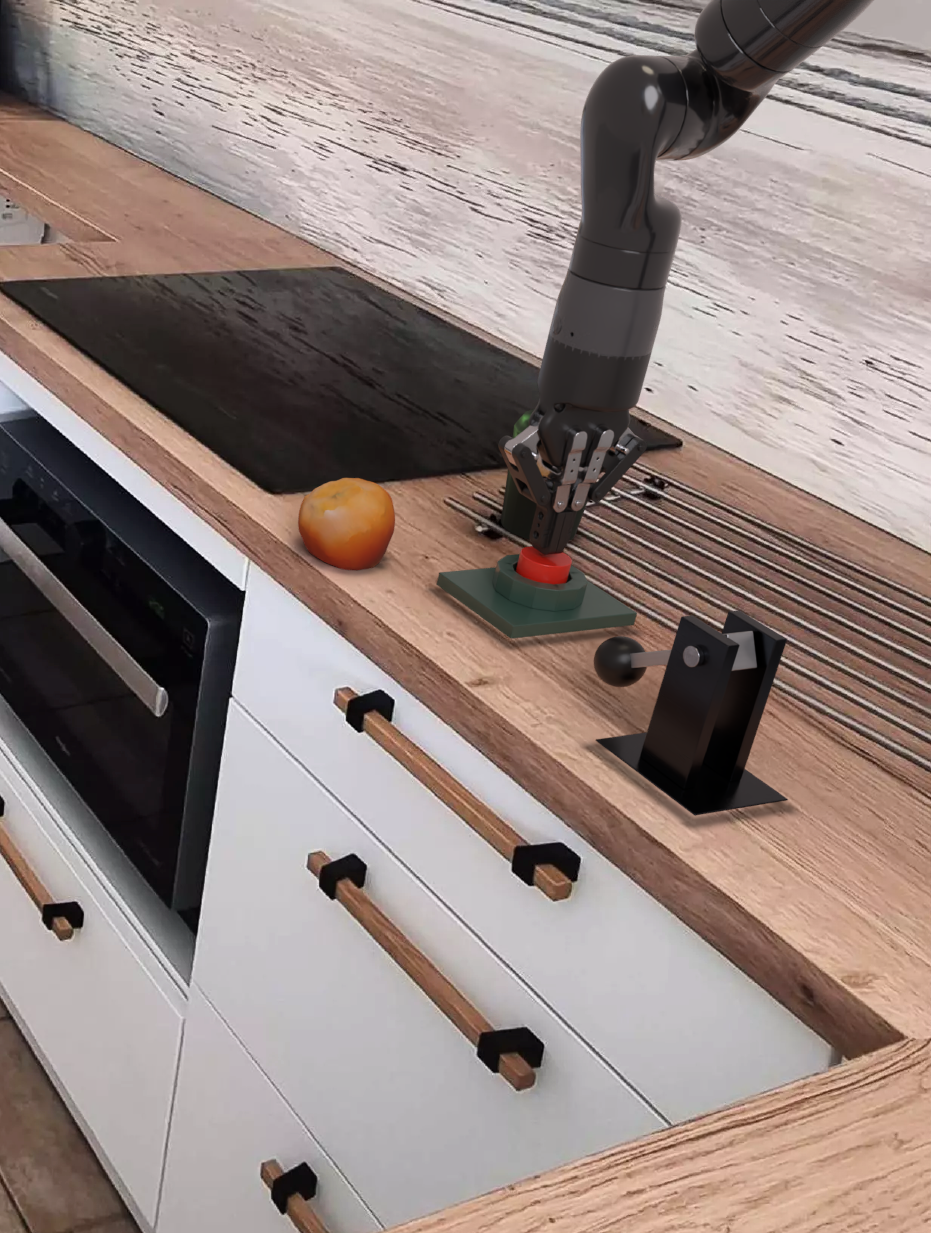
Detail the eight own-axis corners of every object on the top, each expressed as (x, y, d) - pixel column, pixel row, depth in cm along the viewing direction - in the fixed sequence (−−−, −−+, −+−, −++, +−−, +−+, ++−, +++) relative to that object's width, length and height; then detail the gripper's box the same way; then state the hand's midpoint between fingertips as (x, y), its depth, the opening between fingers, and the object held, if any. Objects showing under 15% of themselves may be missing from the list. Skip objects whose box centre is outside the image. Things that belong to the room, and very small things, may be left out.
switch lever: (585, 690, 126) (579, 640, 126) (625, 685, 128) (620, 635, 128) (724, 681, 114) (717, 625, 114) (766, 675, 115) (760, 620, 115)
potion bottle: (596, 535, 161) (648, 341, 152) (562, 559, 155) (613, 358, 146) (512, 508, 165) (558, 318, 156) (475, 530, 159) (521, 333, 150)
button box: (552, 585, 149) (563, 541, 147) (630, 637, 141) (643, 591, 139) (433, 596, 145) (443, 551, 143) (507, 651, 137) (519, 604, 135)
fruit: (428, 554, 149) (405, 482, 144) (355, 609, 147) (330, 539, 142) (367, 518, 155) (343, 448, 150) (297, 570, 153) (271, 501, 148)
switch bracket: (590, 754, 123) (634, 599, 118) (680, 741, 126) (727, 590, 121) (689, 830, 115) (741, 668, 110) (783, 814, 118) (838, 656, 113)
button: (545, 563, 144) (550, 543, 143) (577, 584, 140) (582, 564, 140) (505, 567, 142) (510, 547, 141) (536, 588, 139) (541, 568, 138)
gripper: (561, 355, 127) (506, 576, 135) (704, 350, 132) (643, 563, 140) (498, 323, 133) (449, 537, 141) (637, 319, 138) (583, 526, 146)
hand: (546, 550), depth 140 cm, fingers closed
